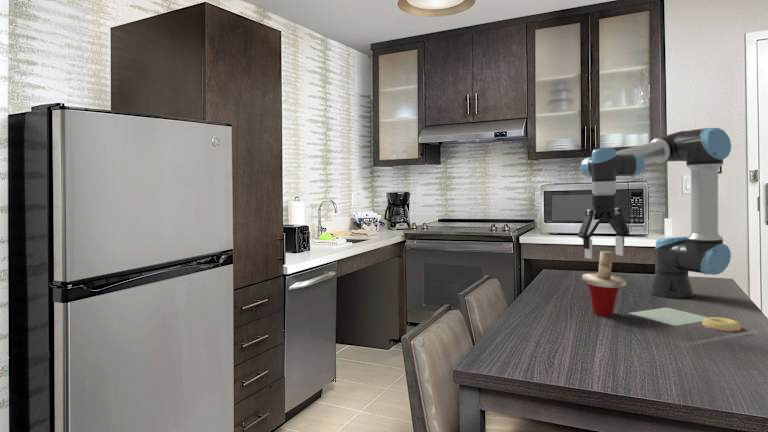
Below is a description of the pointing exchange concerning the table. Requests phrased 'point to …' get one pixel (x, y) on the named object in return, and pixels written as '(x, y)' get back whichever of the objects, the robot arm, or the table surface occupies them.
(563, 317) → the table surface
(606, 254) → the lid
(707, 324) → the donut
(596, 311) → the plastic cup
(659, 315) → the mat
